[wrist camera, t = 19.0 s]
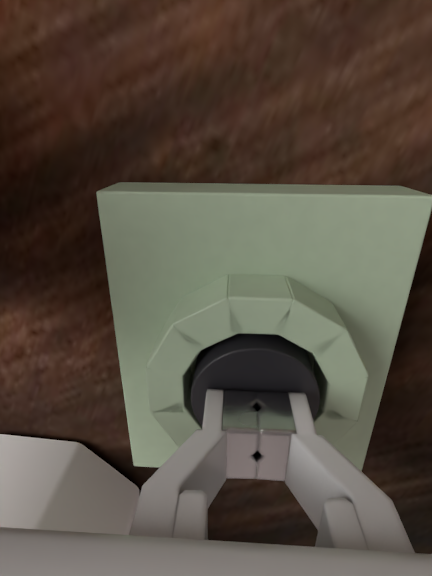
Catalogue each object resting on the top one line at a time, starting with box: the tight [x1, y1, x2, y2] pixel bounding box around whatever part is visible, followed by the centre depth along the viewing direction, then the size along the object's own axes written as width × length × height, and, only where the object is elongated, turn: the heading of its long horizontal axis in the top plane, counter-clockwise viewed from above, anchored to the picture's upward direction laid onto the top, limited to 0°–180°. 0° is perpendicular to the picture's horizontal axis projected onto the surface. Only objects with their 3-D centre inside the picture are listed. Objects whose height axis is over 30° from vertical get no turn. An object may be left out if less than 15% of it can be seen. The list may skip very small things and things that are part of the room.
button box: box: [96, 182, 432, 471], centre depth 13 cm, size 12×10×4 cm
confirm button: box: [191, 333, 320, 425], centre depth 11 cm, size 4×4×2 cm
